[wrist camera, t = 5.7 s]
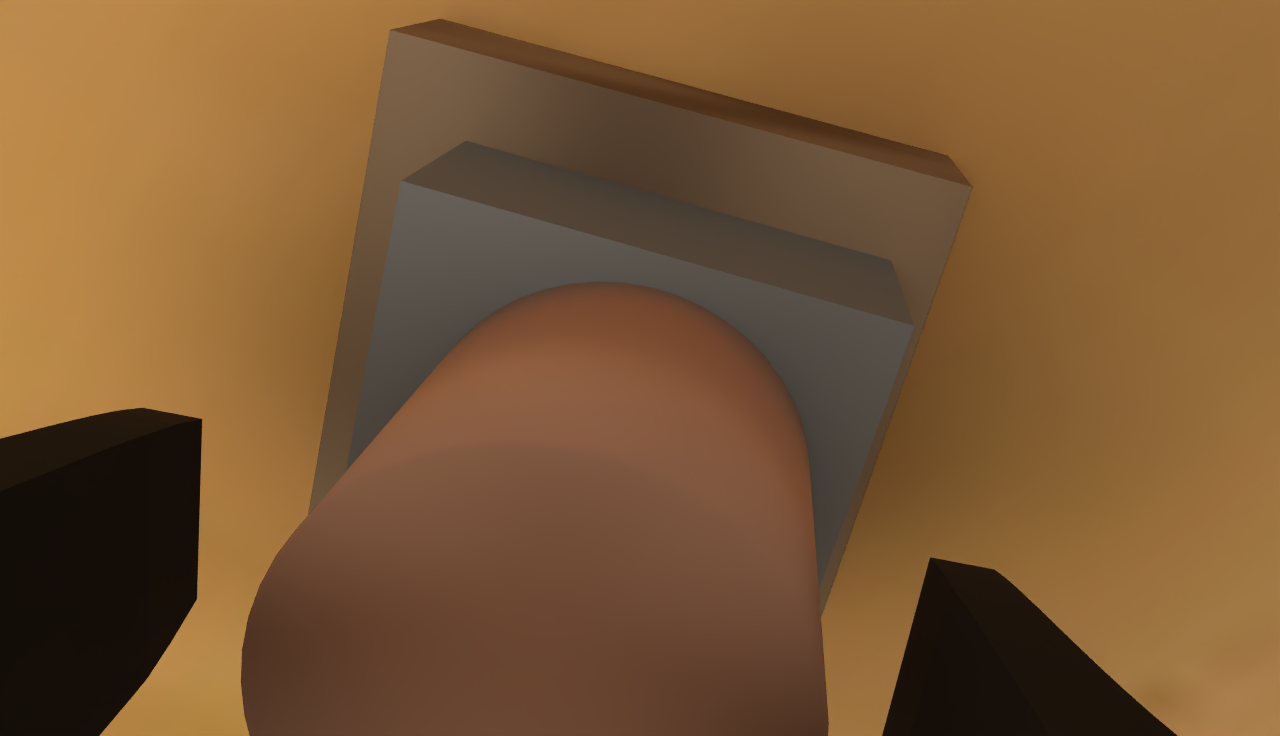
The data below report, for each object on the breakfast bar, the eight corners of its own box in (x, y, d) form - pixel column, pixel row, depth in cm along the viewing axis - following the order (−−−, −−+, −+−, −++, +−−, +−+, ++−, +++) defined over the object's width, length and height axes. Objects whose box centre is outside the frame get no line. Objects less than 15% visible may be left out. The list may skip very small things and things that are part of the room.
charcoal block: (890, 260, 16) (913, 326, 13) (763, 627, 18) (760, 750, 16) (466, 140, 16) (400, 180, 14) (387, 519, 18) (316, 622, 16)
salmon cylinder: (834, 302, 13) (867, 480, 9) (785, 672, 15) (790, 994, 10) (416, 262, 14) (230, 408, 9) (410, 627, 15) (249, 915, 11)
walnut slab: (944, 150, 19) (972, 187, 16) (795, 585, 21) (798, 681, 19) (448, 16, 19) (389, 29, 16) (365, 465, 22) (303, 544, 19)
